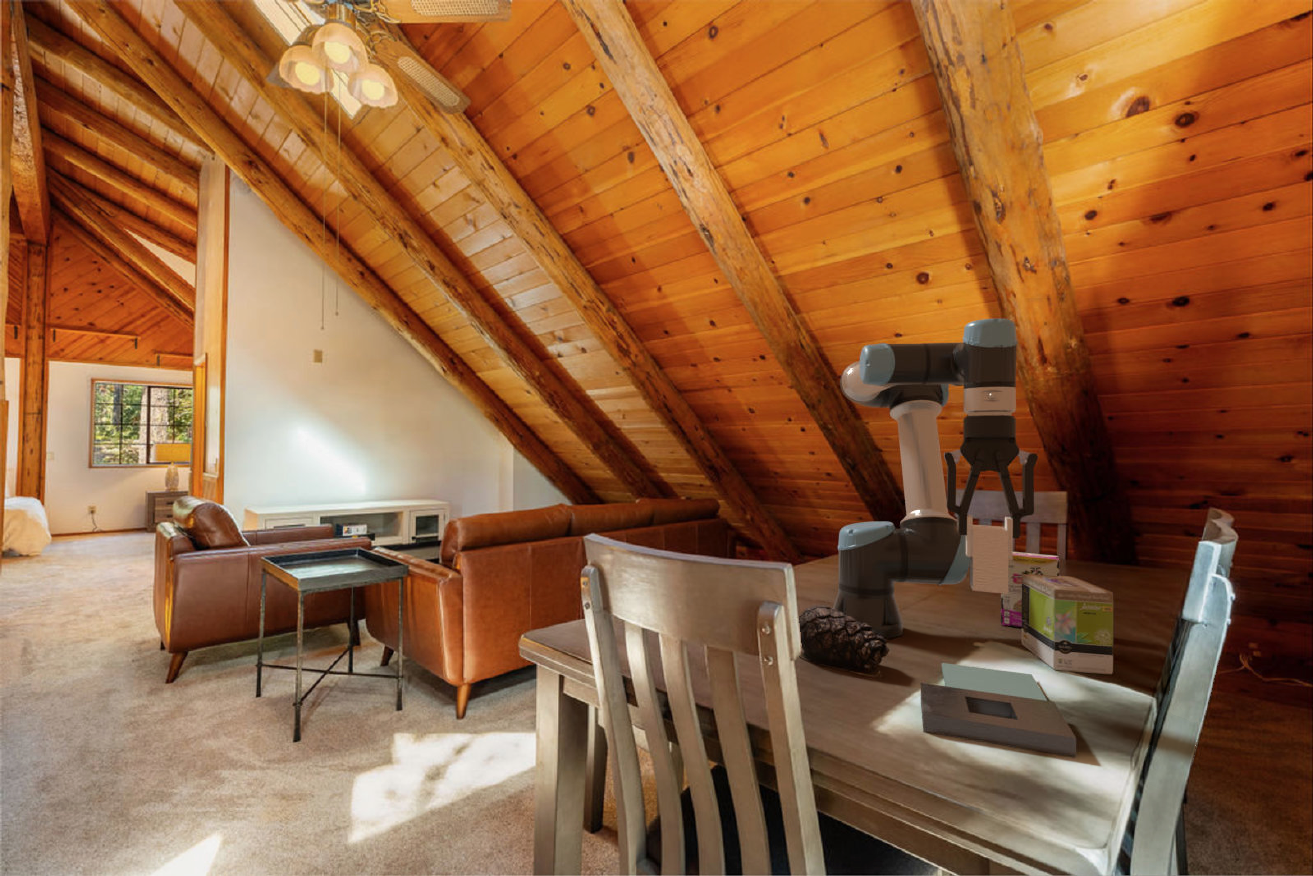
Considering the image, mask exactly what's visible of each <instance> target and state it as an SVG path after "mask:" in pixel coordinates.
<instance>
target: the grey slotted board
mask: <svg viewBox="0 0 1313 876" xmlns="http://www.w3.org/2000/svg"><path fill="white" fill-rule="evenodd" d="M920 705H921V706H920V708H921V719H922V720H921V721H922V729H923V732H924V733H929V734H930V733H931V734H936V735H942V736H949V737H954V738H959V739H964V740H969V741H970V740H971V741H972V740H973V741H975V742H982V743H983V742H984V743H988V744H989V743H990V744H995V745H1000V746H1006V747H1007V746H1008V747H1013V748H1019V749H1022V750H1023V749H1024V750H1029V751H1036V752H1043V753H1047V754H1052V755H1053V754H1054V755H1060V756H1065V757H1070V758H1071V757H1072V758H1077V737H1076V736H1075V734H1074V732H1073V731H1072V728H1070V726H1069V724H1068V723H1067V720H1066V719H1065V718H1064V715H1063V714H1062V712H1061V711H1060V710H1059V708H1058V706H1057V705H1056V703H1055V701H1052V700H1047V701H1045V700H1038V699H1031V698H1024V697H1017V696H1010V695H1003V694H996V693H989V692H982V691H975V690H968V689H961V688H953V687H946V686H945V685H938V684H931V683H925V682H920Z"/></svg>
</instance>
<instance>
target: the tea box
mask: <svg viewBox="0 0 1313 876" xmlns="http://www.w3.org/2000/svg"><path fill="white" fill-rule="evenodd" d="M1020 630H1021V632H1020V633H1021V635H1020V636H1021V645H1023V646H1024V648H1026V649H1028V650H1029V651H1030V652H1032V653H1033V654H1034V655H1035V656H1037V657H1038V658H1039V659H1041V660H1042V661H1043V662H1044V663H1045V664H1047V665H1048V666H1049V667H1051V668H1052V670H1058V671H1065V672H1075V673H1076V672H1077V673H1087V674H1103V675H1112V674H1113V672H1114V593H1113V591H1110V590H1107V589H1105V588H1102V587H1100V586H1097V585H1095V584H1093V583H1090V582H1087V581H1085V580H1082V579H1080V578H1077V577H1074V576H1068V575H1067V576H1065V575H1059V576H1050V575H1032V574H1022V628H1020Z"/></svg>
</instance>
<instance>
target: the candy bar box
mask: <svg viewBox="0 0 1313 876" xmlns="http://www.w3.org/2000/svg"><path fill="white" fill-rule="evenodd" d="M1022 574H1032V575H1050V576H1060V556H1058V555H1051V554H1039V553H1029V552H1022V551H1021V552H1019V551H1013V560H1008V594H1004V593H1000V625H1001V624H1002V625H1001V626H1005V625H1007V626H1006V627H1012V626H1013V627H1012V628H1018V627H1022Z"/></svg>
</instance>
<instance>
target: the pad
mask: <svg viewBox="0 0 1313 876" xmlns="http://www.w3.org/2000/svg"><path fill="white" fill-rule="evenodd" d="M941 671H942V677H943V682H944V686H946V687H953V688H961V689H968V690H975V691H982V692H989V693H996V694H1003V695H1010V696H1017V697H1024V698H1031V699H1038V700H1045V701H1048V699H1047V698H1046V696H1045V694H1044V693H1043V691H1042V689H1041V688H1040V687H1039V684H1038V682H1037V681H1036V680H1035V678H1034V676H1033V674H1031V673H1025V672H1024V673H1022V672H1017V671H1016V672H1015V671H1010V670H1009V671H1007V670H1001V669H1000V670H999V669H993V668H992V669H991V668H985V667H977V666H969V665H960V664H955V663H954V664H953V663H946V662H941Z"/></svg>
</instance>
